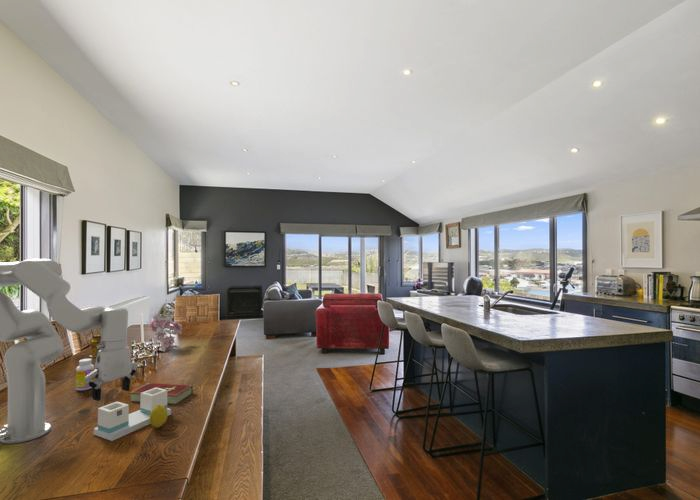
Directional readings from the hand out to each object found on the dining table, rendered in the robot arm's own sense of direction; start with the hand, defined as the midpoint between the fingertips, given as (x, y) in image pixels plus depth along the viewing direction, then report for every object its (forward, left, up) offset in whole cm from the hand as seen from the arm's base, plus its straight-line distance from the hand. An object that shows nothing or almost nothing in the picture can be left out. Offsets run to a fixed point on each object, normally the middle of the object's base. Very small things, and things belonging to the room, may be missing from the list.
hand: (111, 394), depth 124 cm
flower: (+83, +81, -13) cm, 117 cm away
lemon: (+10, -11, -13) cm, 20 cm away
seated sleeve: (+15, -1, -11) cm, 19 cm away
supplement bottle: (+20, +52, -13) cm, 58 cm away
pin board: (+8, -1, -13) cm, 15 cm away
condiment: (+55, +103, -13) cm, 118 cm away
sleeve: (0, -1, -11) cm, 11 cm away
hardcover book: (+29, +13, -14) cm, 34 cm away
